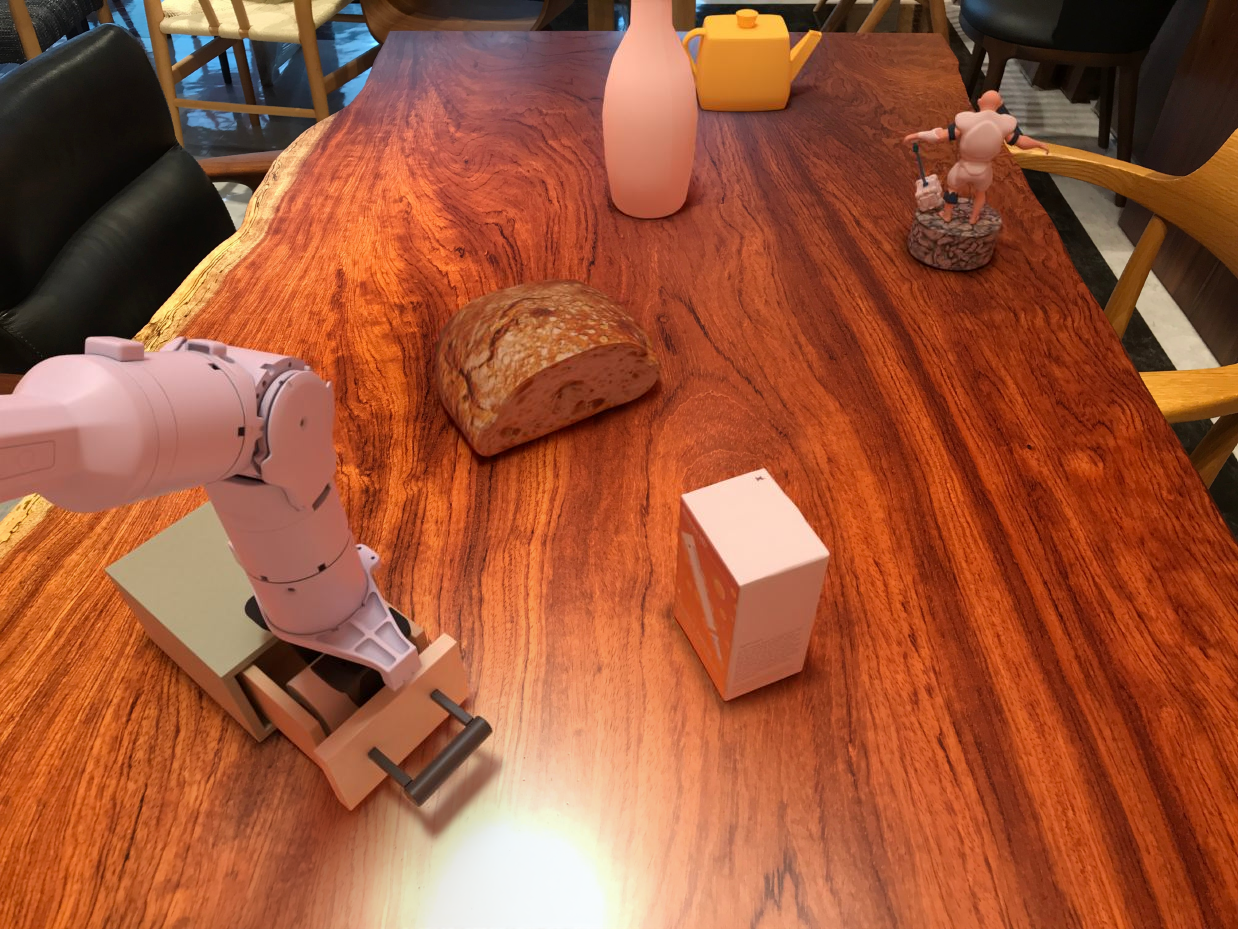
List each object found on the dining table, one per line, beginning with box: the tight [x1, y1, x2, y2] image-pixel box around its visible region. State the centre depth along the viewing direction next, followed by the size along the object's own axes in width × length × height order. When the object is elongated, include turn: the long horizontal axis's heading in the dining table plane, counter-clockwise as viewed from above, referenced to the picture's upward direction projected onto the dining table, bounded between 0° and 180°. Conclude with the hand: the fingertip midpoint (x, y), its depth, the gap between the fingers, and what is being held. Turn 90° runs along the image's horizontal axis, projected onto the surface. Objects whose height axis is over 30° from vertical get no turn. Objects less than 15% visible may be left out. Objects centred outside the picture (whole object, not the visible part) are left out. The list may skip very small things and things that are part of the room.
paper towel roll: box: [286, 653, 360, 735], centre depth 56 cm, size 4×7×4 cm
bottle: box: [601, 0, 699, 219], centre depth 100 cm, size 11×11×25 cm
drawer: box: [234, 599, 494, 812], centre depth 56 cm, size 17×10×6 cm, turn 52°
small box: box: [673, 467, 831, 702], centre depth 58 cm, size 8×6×13 cm
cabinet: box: [103, 499, 382, 743], centre depth 61 cm, size 13×11×8 cm
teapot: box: [681, 8, 823, 112], centre depth 128 cm, size 20×12×12 cm, turn 89°
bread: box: [433, 278, 662, 457], centre depth 81 cm, size 20×18×10 cm
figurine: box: [903, 90, 1050, 271], centre depth 94 cm, size 15×9×18 cm, turn 78°
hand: (352, 680), depth 56 cm, fingers closed on paper towel roll, 4 cm apart
